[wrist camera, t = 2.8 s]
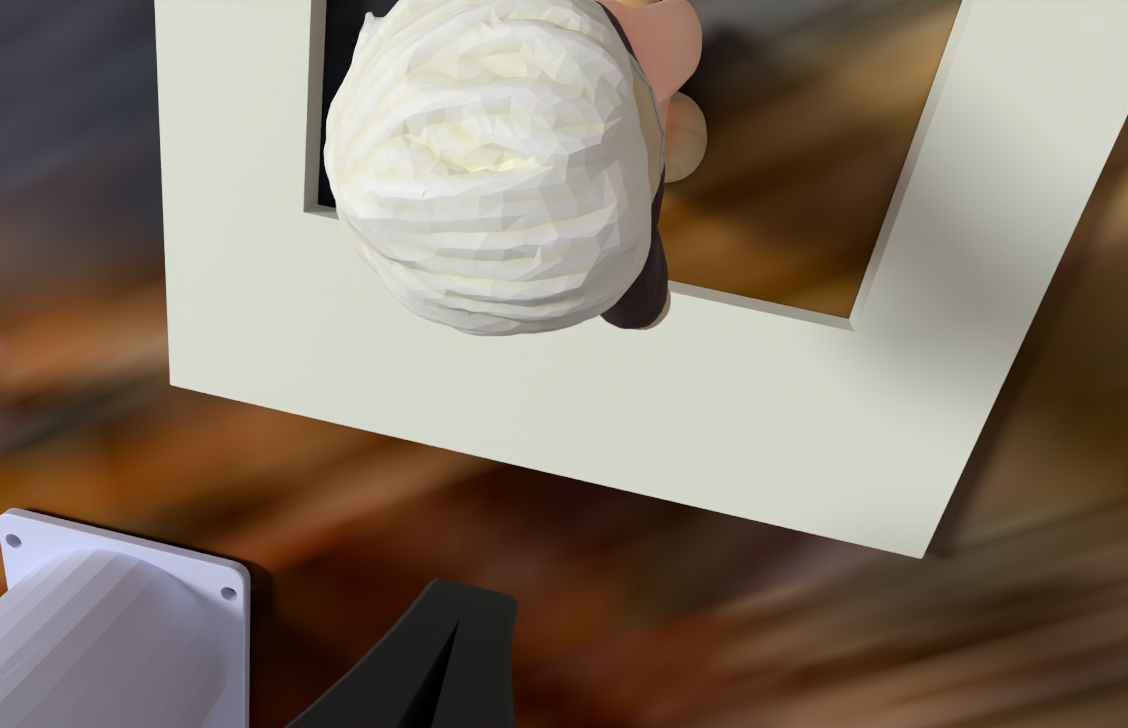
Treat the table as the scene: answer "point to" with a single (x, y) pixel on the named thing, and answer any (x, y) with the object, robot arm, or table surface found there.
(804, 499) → the pale rectangular frame
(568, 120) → the grandmother figurine
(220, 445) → the table surface
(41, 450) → the table surface
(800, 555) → the table surface
